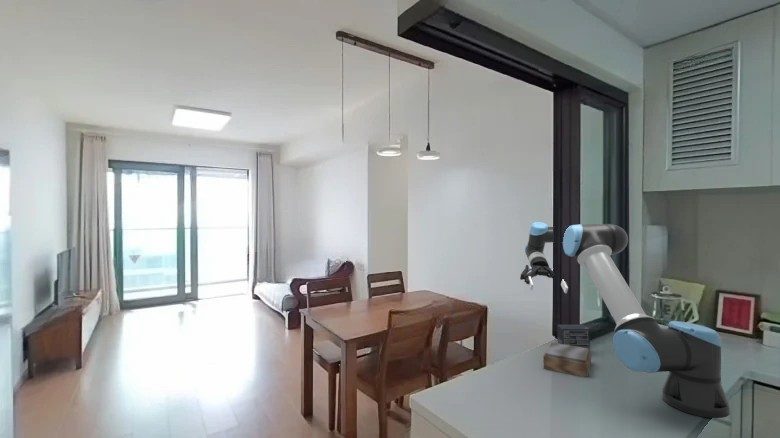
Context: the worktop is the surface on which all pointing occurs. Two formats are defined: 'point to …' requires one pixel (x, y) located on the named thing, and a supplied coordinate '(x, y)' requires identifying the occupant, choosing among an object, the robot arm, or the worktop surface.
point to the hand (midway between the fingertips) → (549, 289)
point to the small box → (574, 335)
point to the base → (568, 359)
